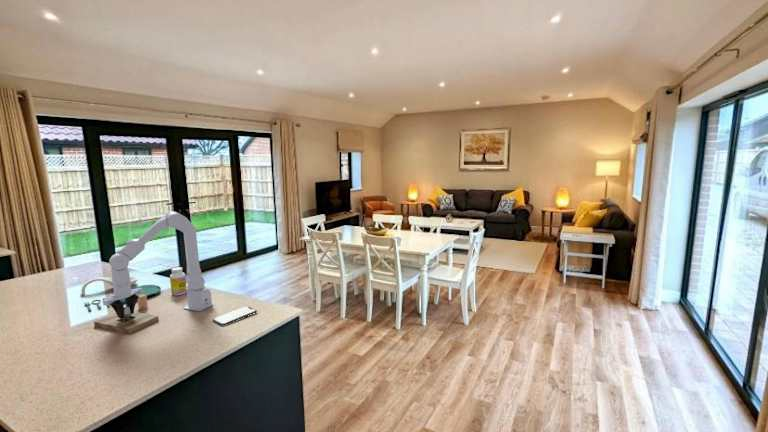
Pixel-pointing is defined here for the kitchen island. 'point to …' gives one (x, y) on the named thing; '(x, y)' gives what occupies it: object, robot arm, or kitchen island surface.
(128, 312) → the steel pin
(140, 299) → the terracotta pin
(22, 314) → the kitchen island surface
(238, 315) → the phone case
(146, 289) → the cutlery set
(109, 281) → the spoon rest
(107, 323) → the wooden board with hole
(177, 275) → the supplement bottle
